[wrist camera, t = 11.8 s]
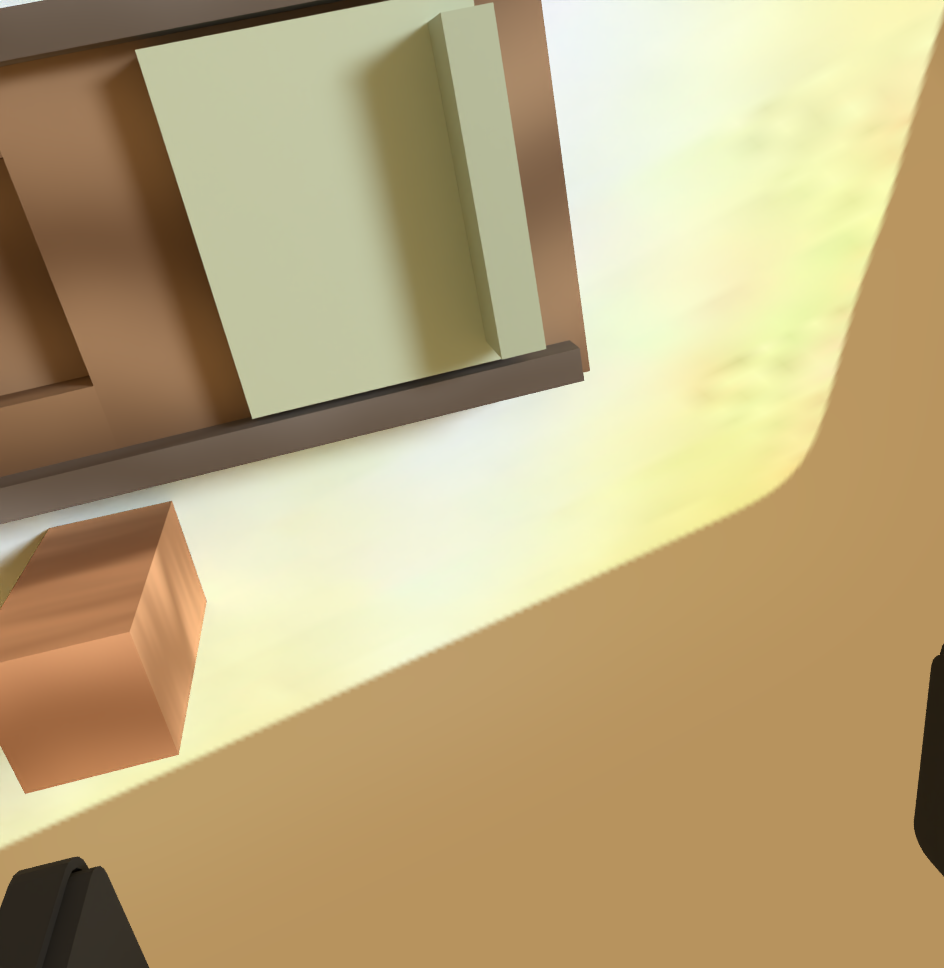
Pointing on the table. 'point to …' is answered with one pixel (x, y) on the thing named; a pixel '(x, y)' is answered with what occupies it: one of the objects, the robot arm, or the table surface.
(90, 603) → the block
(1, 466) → the puzzle board
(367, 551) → the table surface
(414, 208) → the lid
